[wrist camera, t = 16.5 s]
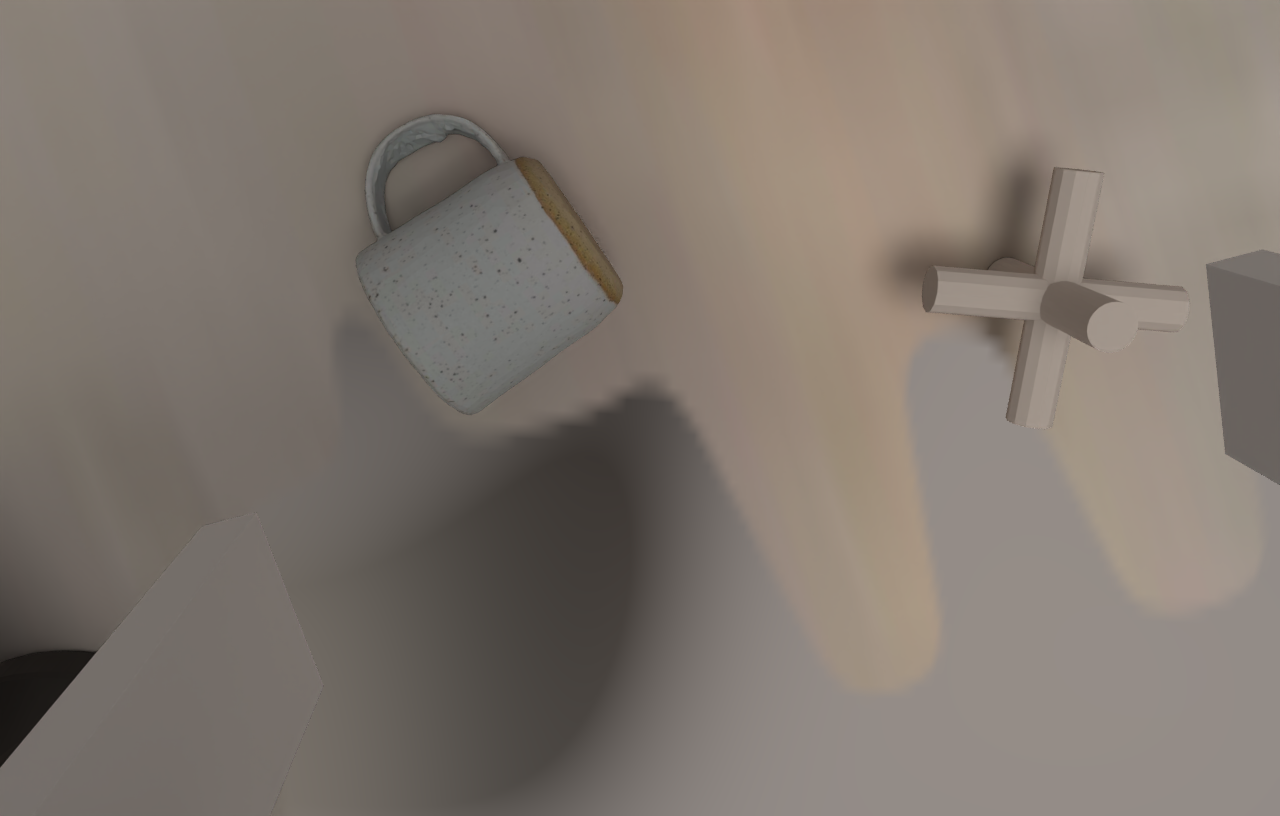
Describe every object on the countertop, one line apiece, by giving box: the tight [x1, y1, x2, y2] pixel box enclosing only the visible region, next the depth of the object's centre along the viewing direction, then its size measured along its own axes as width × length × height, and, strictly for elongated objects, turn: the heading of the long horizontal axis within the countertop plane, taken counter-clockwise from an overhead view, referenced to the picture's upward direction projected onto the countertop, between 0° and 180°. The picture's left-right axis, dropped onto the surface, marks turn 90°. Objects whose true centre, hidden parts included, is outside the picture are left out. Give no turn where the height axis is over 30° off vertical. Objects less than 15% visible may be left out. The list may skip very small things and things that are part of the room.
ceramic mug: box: [356, 114, 623, 415], centre depth 43 cm, size 11×8×8 cm
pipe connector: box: [922, 167, 1190, 429], centre depth 43 cm, size 10×10×10 cm
